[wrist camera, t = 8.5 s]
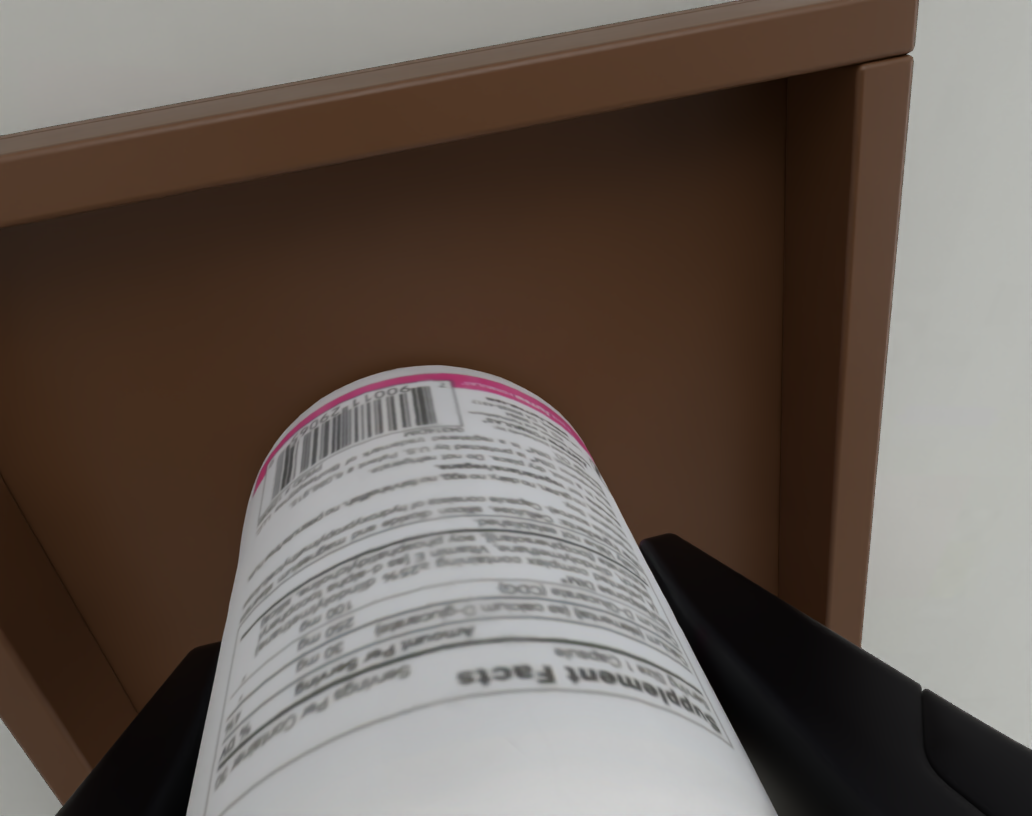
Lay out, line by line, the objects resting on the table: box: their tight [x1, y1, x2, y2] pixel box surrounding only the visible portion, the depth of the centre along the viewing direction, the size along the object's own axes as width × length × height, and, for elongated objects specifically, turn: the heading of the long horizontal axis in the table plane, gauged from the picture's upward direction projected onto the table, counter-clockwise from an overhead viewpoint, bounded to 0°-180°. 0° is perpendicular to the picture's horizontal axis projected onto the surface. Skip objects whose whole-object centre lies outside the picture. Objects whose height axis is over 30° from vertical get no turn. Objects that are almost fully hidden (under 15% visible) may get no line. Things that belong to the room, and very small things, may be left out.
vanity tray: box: [0, 0, 919, 806], centre depth 10 cm, size 11×11×2 cm
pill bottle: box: [186, 365, 778, 816], centre depth 7 cm, size 5×5×8 cm
